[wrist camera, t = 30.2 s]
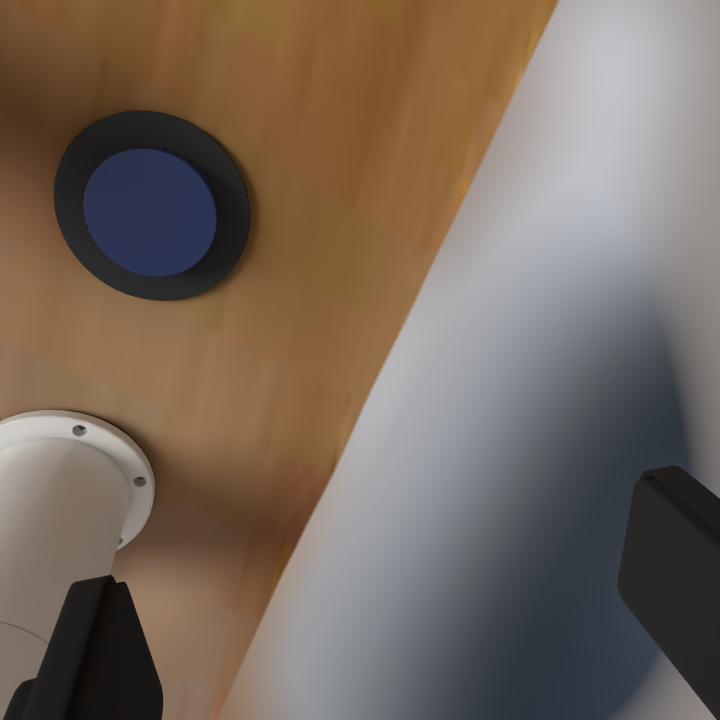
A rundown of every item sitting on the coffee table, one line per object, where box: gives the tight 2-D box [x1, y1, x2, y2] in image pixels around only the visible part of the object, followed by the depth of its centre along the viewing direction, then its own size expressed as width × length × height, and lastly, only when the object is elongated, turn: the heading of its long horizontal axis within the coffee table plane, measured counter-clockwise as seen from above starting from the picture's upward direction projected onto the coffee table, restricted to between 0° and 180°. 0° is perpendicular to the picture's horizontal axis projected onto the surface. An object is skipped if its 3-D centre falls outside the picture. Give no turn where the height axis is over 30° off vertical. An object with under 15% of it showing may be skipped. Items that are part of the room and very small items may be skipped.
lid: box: [84, 146, 219, 277], centre depth 31 cm, size 7×7×2 cm
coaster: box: [54, 111, 250, 301], centre depth 33 cm, size 11×11×1 cm
